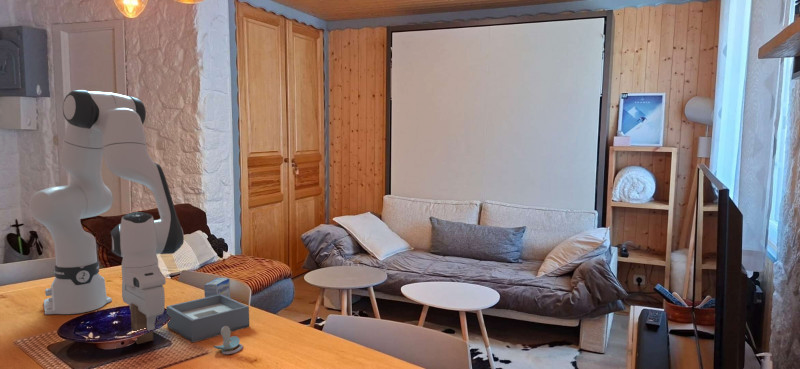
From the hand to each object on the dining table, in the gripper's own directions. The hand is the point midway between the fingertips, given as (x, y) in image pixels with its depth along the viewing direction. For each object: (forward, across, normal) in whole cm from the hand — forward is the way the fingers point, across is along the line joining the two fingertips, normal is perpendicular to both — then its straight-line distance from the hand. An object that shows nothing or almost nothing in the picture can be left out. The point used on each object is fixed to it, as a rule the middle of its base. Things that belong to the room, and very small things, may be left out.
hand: (143, 325), depth 147 cm
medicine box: (+4, -11, +27) cm, 29 cm away
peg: (+4, 0, 0) cm, 4 cm away
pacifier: (+5, +23, +13) cm, 26 cm away
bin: (+4, +3, +17) cm, 17 cm away
